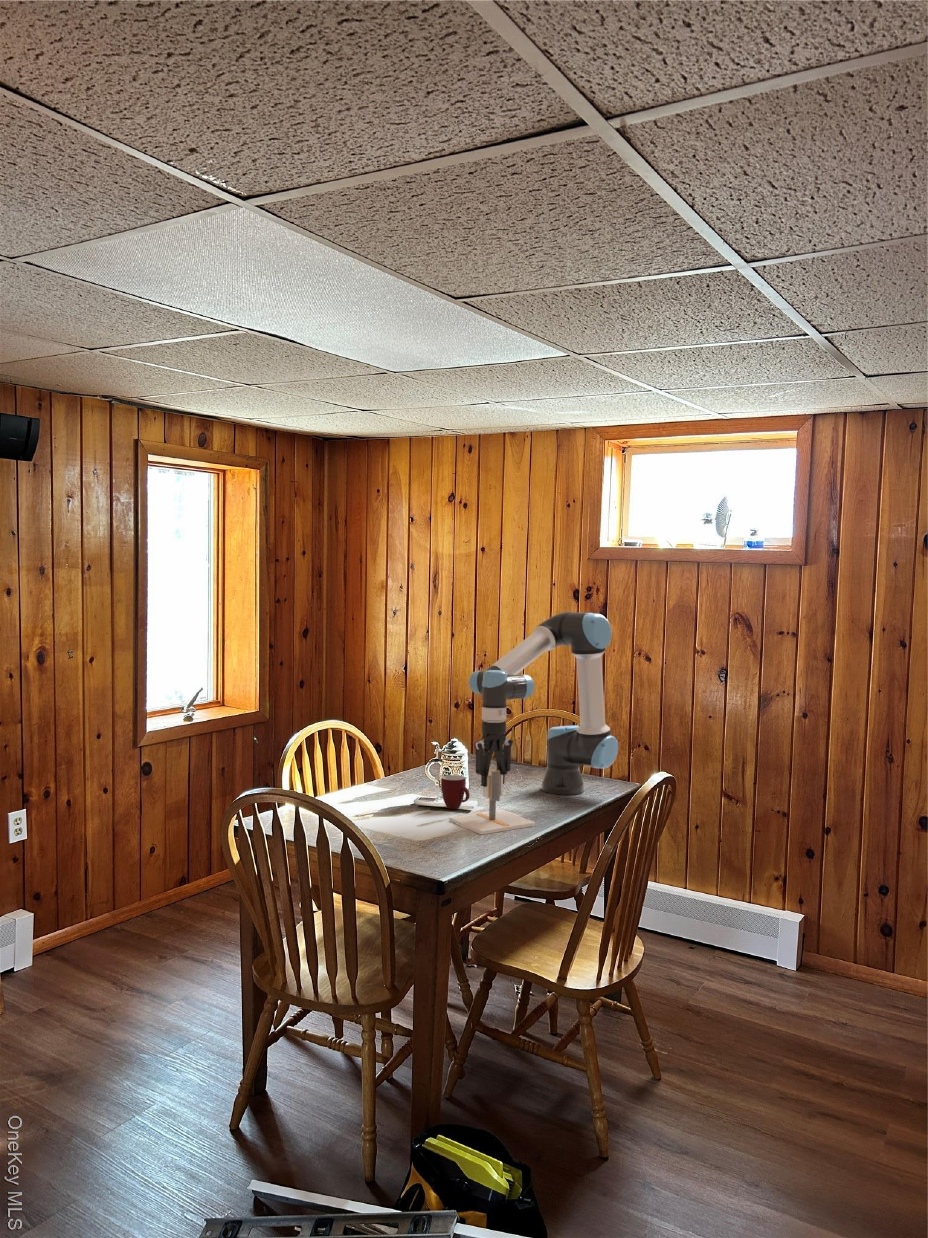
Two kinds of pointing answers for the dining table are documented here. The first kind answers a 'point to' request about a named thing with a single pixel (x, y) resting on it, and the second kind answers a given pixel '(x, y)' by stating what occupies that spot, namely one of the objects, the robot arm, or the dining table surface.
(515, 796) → the dining table surface
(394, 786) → the dining table surface
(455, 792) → the mug
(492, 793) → the grey slab
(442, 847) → the dining table surface
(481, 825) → the post base
